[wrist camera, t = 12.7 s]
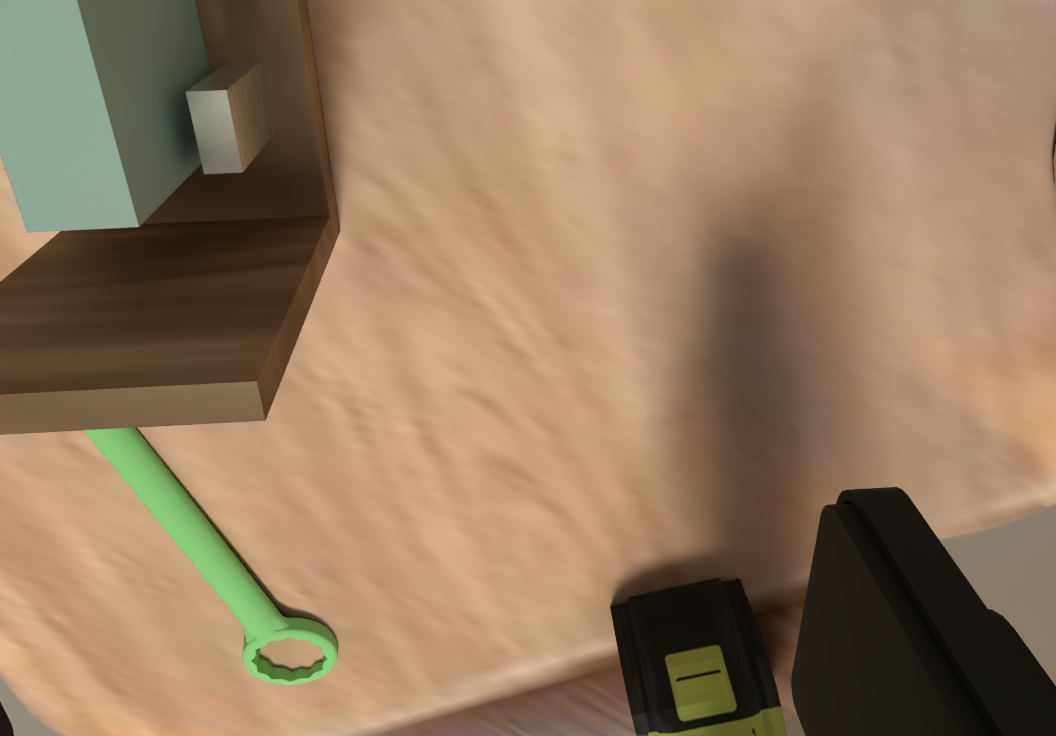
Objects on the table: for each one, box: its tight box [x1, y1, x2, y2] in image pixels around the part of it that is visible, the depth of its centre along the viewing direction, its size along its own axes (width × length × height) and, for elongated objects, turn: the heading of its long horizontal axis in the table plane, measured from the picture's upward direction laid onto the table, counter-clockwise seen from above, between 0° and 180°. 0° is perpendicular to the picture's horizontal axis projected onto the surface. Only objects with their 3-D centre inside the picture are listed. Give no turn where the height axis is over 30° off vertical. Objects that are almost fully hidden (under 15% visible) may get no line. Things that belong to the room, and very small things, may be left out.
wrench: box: [84, 428, 338, 685], centre depth 41 cm, size 25×2×5 cm
